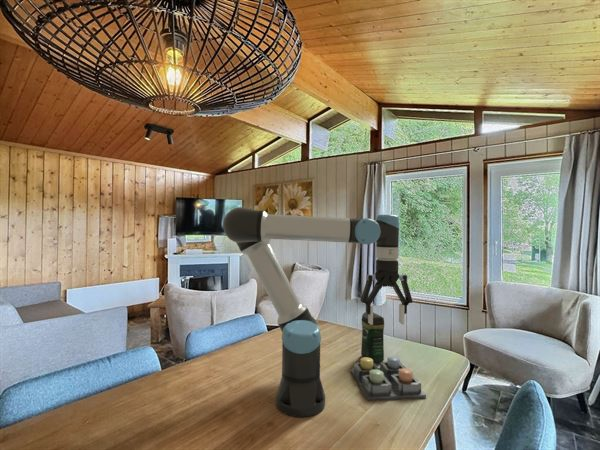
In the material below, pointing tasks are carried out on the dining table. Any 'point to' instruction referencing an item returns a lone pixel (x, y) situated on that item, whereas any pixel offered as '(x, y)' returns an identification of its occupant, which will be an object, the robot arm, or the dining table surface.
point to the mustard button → (366, 363)
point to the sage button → (376, 376)
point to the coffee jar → (373, 338)
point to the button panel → (386, 384)
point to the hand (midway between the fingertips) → (386, 323)
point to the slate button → (393, 362)
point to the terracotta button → (405, 375)
